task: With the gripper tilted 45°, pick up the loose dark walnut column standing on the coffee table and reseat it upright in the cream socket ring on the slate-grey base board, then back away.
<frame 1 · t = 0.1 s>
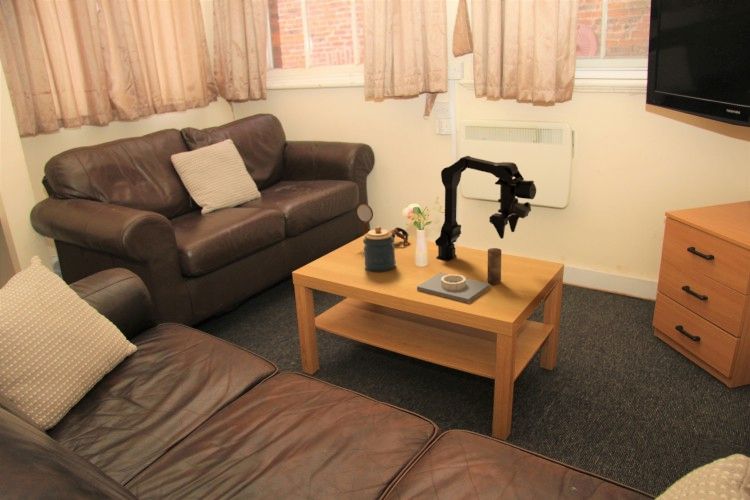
hand: (507, 235, 230), 15 cm above the table, tool pointing down, fingers open, 9 cm apart
canister: (380, 267, 246), on the table
magnifying glass: (366, 246, 273), on the table
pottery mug: (395, 244, 273), on the table
base board: (453, 288, 221), on the table
walnut column: (494, 282, 224), on the table
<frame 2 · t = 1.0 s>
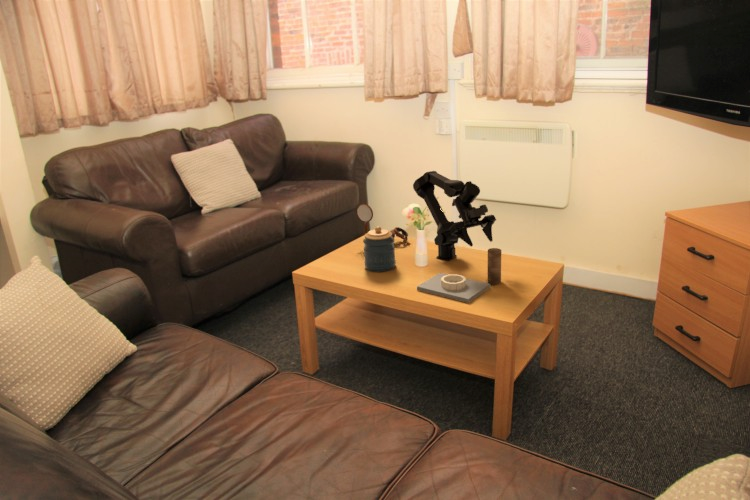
hand: (481, 243, 226), 13 cm above the table, tool tilted 45°, fingers open, 9 cm apart
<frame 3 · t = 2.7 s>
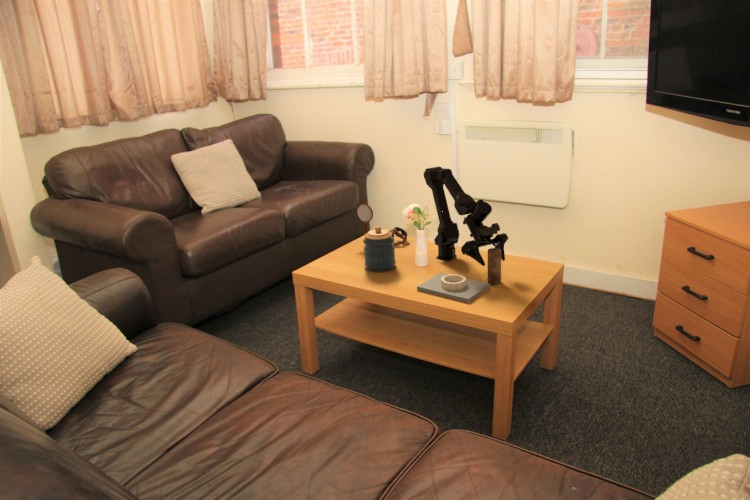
hand: (494, 263, 221), 8 cm above the table, tool tilted 45°, fingers open, 9 cm apart
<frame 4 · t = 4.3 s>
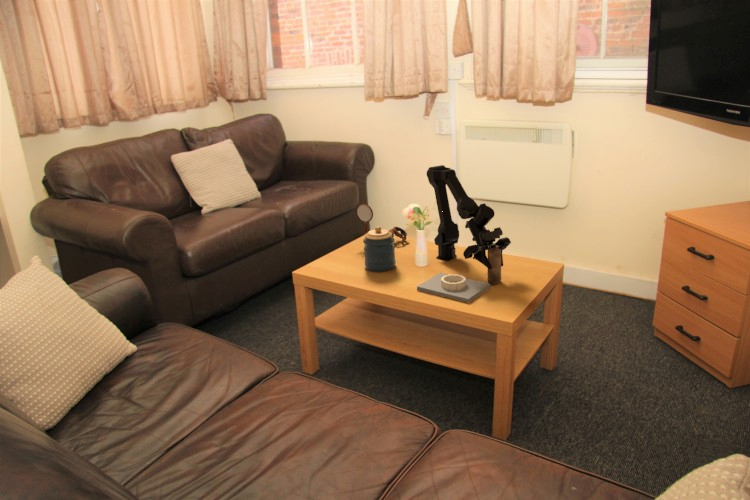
hand: (496, 267, 221), 7 cm above the table, tool tilted 45°, fingers closed on walnut column, 5 cm apart
walnut column: (494, 282, 224), on the table, touching gripper
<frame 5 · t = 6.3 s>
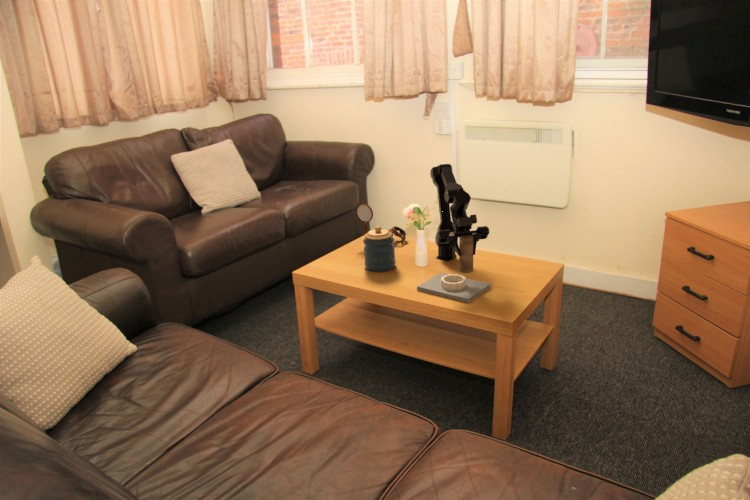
hand: (467, 255, 215), 13 cm above the table, tool tilted 45°, fingers closed on walnut column, 5 cm apart
walnut column: (466, 270, 218), point 7 cm above the table, touching gripper
when the fingers open (9 cm above the table, at t = 8.3 s): walnut column drops 1 cm, resting on base board.
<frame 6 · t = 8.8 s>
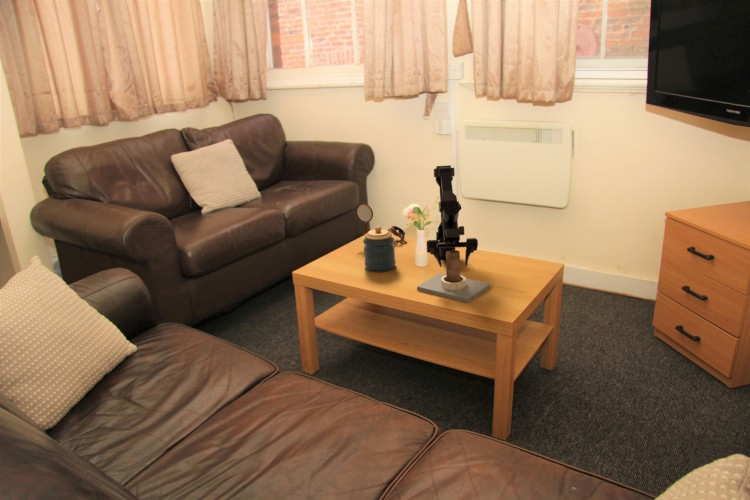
hand: (453, 266, 216), 10 cm above the table, tool tilted 45°, fingers open, 9 cm apart
walnut column: (453, 285, 220), point 2 cm above the table, touching base board
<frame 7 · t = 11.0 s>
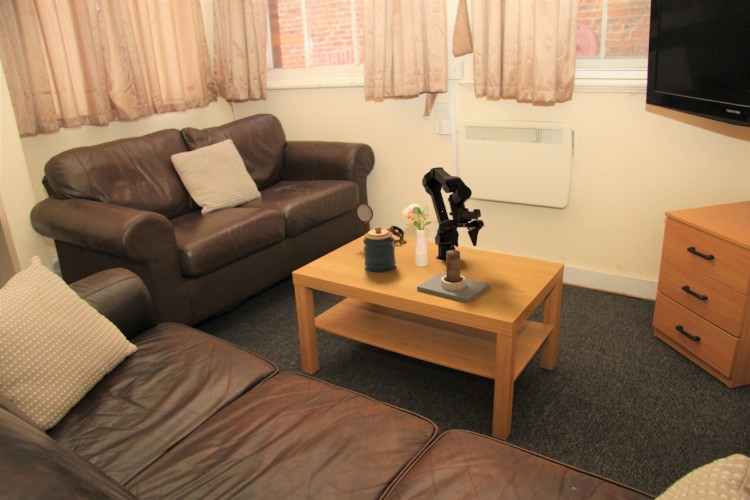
hand: (466, 246, 227), 12 cm above the table, tool tilted 35°, fingers open, 9 cm apart
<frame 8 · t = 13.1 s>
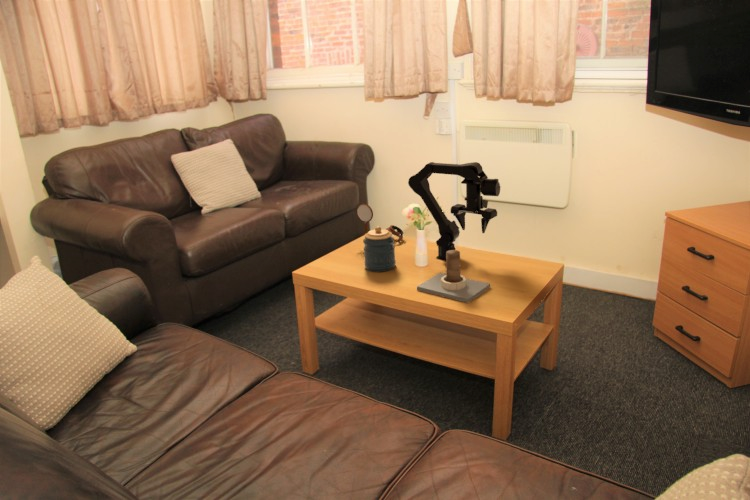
hand: (473, 231, 242), 13 cm above the table, tool pointing down, fingers open, 9 cm apart
at the end: walnut column 0.0 cm off-centre on the base board, point 1.5 cm above the base board's base; walnut column tilted 0°; the gripper is holding nothing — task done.
